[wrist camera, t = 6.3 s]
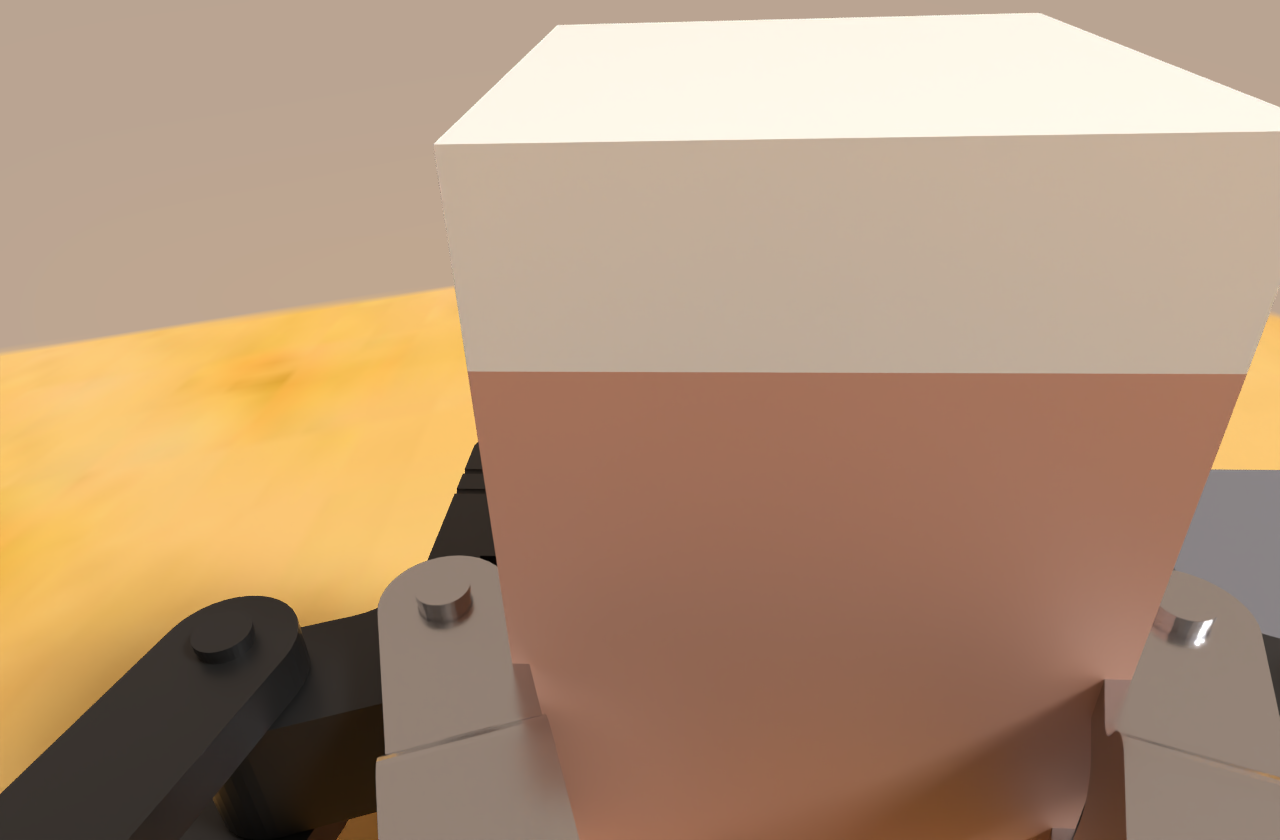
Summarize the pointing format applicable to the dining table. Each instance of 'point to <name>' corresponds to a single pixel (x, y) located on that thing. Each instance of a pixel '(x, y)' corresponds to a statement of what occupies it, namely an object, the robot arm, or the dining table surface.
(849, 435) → the block
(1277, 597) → the mat
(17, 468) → the dining table surface
